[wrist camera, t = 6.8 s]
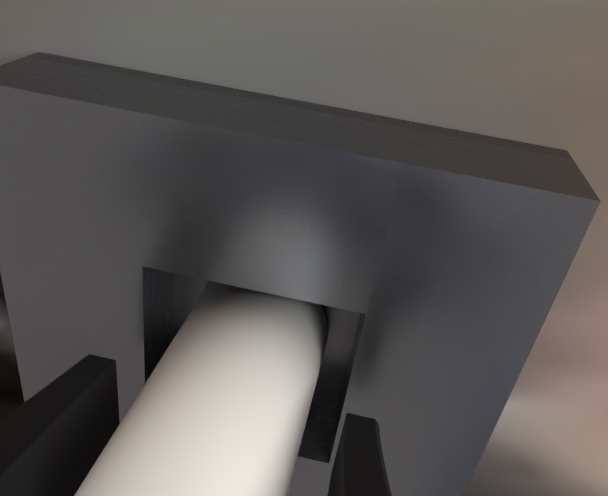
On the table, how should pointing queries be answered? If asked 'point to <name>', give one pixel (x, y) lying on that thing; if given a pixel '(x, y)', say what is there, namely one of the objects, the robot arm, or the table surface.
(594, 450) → the table surface
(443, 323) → the socket block
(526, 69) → the table surface
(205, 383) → the peg
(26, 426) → the robot arm
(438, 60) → the table surface
